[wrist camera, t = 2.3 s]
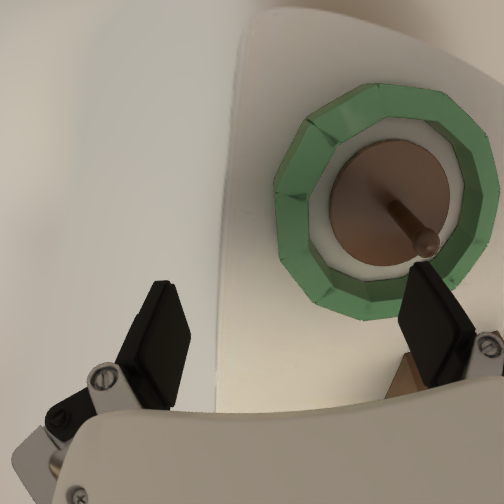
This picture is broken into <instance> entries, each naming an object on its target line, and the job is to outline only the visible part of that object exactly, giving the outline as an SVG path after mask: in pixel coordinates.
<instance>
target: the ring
mask: <svg viewBox="0 0 504 504" xmlns="http://www.w3.org/2000/svg"><path fill="white" fill-rule="evenodd" d="M386 117H398V118H410V119H420V120H424V121H425V122H427V123H428V124H429V125H430V126H432V127H433V128H434V129H435V130H436V131H438V132H439V133H440V134H441V135H442V136H443V137H445V138H446V139H447V140H448V141H449V142H450V143H451V144H452V145H453V148H454V151H455V153H456V156H457V159H458V162H459V165H460V169H461V172H462V175H463V178H464V182H465V189H464V195H463V202H462V207H461V213H460V218H459V223H458V226H457V228H456V229H455V231H454V232H453V234H452V235H451V237H450V238H449V240H448V241H447V242H446V244H445V245H444V247H443V248H442V250H441V251H440V252H439V254H438V255H437V256H436V258H434V259H433V260H431V261H430V262H429V263H430V264H431V265H432V266H433V268H434V269H435V270H436V272H437V273H438V274H439V276H440V277H441V278H442V280H443V281H444V282H445V284H446V285H447V287H448V288H449V289H450V291H452V290H454V289H455V288H456V286H458V285H459V284H460V282H461V281H462V280H463V279H464V277H465V276H466V275H467V273H468V272H469V271H470V269H471V268H472V267H473V265H474V264H475V263H476V261H477V260H478V258H479V257H480V256H481V254H482V253H483V251H484V250H485V248H486V247H487V244H488V243H489V240H490V237H491V233H492V229H493V225H494V221H495V216H496V212H497V207H498V202H499V197H500V191H499V190H500V185H499V180H498V175H497V171H496V166H495V162H494V158H493V154H492V151H491V147H490V143H489V140H488V137H487V136H486V133H485V132H484V131H483V130H482V129H481V128H480V127H479V126H478V125H477V124H476V123H475V122H474V121H473V119H472V118H471V117H470V116H469V115H468V114H467V113H466V112H465V111H464V110H463V109H461V108H460V107H459V106H458V105H457V104H456V103H455V102H454V101H453V100H452V99H451V98H450V97H449V96H448V95H446V94H445V93H443V92H440V91H435V90H429V89H423V88H416V87H409V86H401V85H391V84H381V83H377V84H365V85H361V86H359V87H357V88H355V89H354V90H352V91H350V92H348V93H346V94H345V95H343V96H341V97H339V98H338V99H336V100H334V101H332V102H331V103H329V104H327V105H326V106H324V107H322V108H321V109H319V110H317V111H316V112H314V113H312V114H311V115H309V116H307V120H308V121H307V120H305V119H304V121H303V123H302V125H301V126H300V128H299V130H298V132H297V134H296V136H295V138H294V140H293V142H292V144H291V146H290V148H289V150H288V152H287V154H286V156H285V158H284V160H283V162H282V164H281V166H280V168H279V170H278V172H277V174H276V176H275V178H274V197H275V209H276V222H277V235H278V249H279V258H280V261H281V263H282V264H283V265H284V266H285V268H286V269H287V270H288V272H289V273H290V274H291V275H292V277H293V278H294V279H295V281H296V282H297V283H298V284H299V286H300V287H301V288H302V290H303V291H304V292H305V293H306V295H307V296H308V297H309V299H310V300H311V301H312V302H313V303H315V304H316V305H319V306H321V307H324V308H327V309H330V310H332V311H335V312H338V313H341V314H343V315H346V316H349V317H352V318H355V319H357V320H363V321H368V320H376V319H384V318H392V317H398V314H399V311H400V307H401V303H402V299H403V296H404V292H405V287H406V283H407V279H408V275H409V274H408V275H406V276H405V277H403V278H401V279H391V280H381V281H370V282H361V281H359V280H357V279H354V278H352V277H350V276H347V275H345V274H343V273H340V272H338V271H336V270H333V269H331V268H329V267H328V266H327V265H326V263H325V262H324V260H323V259H322V257H321V256H320V254H319V253H318V251H317V250H316V248H315V247H314V245H313V244H312V242H311V241H310V239H309V211H308V198H309V196H310V194H311V192H312V191H313V189H314V187H315V185H316V184H317V182H318V180H319V178H320V176H321V174H322V173H323V171H324V169H325V167H326V165H327V164H328V162H329V160H330V158H331V156H332V154H333V153H334V151H335V149H336V147H337V146H338V145H339V144H341V143H343V142H344V141H346V140H348V139H350V138H351V137H353V136H355V135H356V134H358V133H360V132H361V131H363V130H365V129H367V128H368V127H370V126H372V125H373V124H375V123H377V122H379V121H380V120H382V119H384V118H386Z"/></svg>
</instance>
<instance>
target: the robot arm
mask: <svg viewBox="0 0 504 504" xmlns="http://www.w3.org/2000/svg"><path fill="white" fill-rule="evenodd" d="M398 323H399V326H400V328H401V330H402V333H403V335H404V337H405V340H406V342H407V344H408V347H409V349H410V351H411V354H412V356H413V359H414V361H415V364H416V366H417V369H418V371H419V374H420V376H421V379H422V382H423V384H424V386H426V387H428V389H427V390H423V391H419V392H415V393H411V394H407V395H402V396H398V397H393V398H388V399H383V400H378V401H372V402H367V403H361V404H354V405H348V406H340V407H333V408H324V409H315V410H304V411H291V412H273V413H202V412H201V413H200V412H181V411H170V407H174V405H175V402H176V398H177V393H178V389H179V385H180V381H181V376H182V373H183V368H184V364H185V360H186V356H187V352H188V348H189V344H190V340H191V333H190V329H189V326H188V324H187V321H186V318H185V315H184V312H183V309H182V306H181V303H180V300H179V296H178V293H177V290H176V287H175V285H174V284H171V283H170V281H168V280H164V281H155V282H154V283H153V285H152V287H151V289H150V291H149V293H148V295H147V297H146V299H145V301H144V303H143V305H142V308H141V309H140V312H139V314H137V315H136V317H135V319H134V321H133V323H132V325H131V327H130V329H129V332H128V334H127V336H126V338H125V340H124V343H123V345H122V347H121V350H120V352H119V354H118V356H117V358H116V361H115V363H111V362H106V363H102V364H99V365H97V366H96V367H94V368H93V369H92V370H91V372H90V373H89V375H88V378H87V387H86V388H84V389H83V390H81V391H79V392H77V393H76V394H74V395H72V396H70V397H68V398H66V399H65V400H63V401H61V402H59V403H57V404H56V405H54V406H53V407H51V408H50V410H49V411H48V412H47V414H46V416H45V426H44V427H42V426H41V425H40V426H39V427H38V428H37V429H36V430H35V431H34V432H33V433H32V434H31V435H30V436H29V437H28V438H27V439H26V440H25V441H24V442H23V443H21V445H20V446H18V447H17V448H16V449H15V451H14V452H13V454H12V458H11V460H12V466H13V468H14V470H15V472H16V473H17V475H18V477H19V478H20V480H21V481H22V483H23V485H24V486H25V488H26V489H27V491H28V492H29V494H30V495H31V497H32V498H33V500H34V501H35V503H36V504H504V344H503V342H502V341H501V339H500V338H499V337H498V336H496V335H495V334H493V333H489V332H482V333H479V334H478V335H477V334H476V332H475V330H476V329H475V327H474V325H473V324H472V322H471V321H470V319H469V318H468V316H467V314H466V313H465V311H464V310H463V308H462V307H461V305H460V304H459V302H458V301H457V299H456V298H455V297H454V295H453V294H452V292H451V291H450V289H449V288H448V287H447V285H446V284H445V282H444V281H443V280H442V278H441V277H440V276H439V274H438V273H437V272H436V270H435V269H434V268H433V266H432V265H431V264H430V263H429V262H428V261H422V262H415V263H414V265H413V266H411V267H410V270H409V275H408V279H407V283H406V287H405V292H404V296H403V299H402V303H401V307H400V311H399V314H398Z"/></svg>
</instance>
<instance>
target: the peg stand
mask: <svg viewBox="0 0 504 504" xmlns="http://www.w3.org/2000/svg"><path fill="white" fill-rule="evenodd" d="M449 201H450V192H449V184H448V181H447V177H446V175H445V172H444V170H443V168H442V166H441V165H440V163H439V162H438V160H437V159H436V158H435V157H434V156H433V155H432V154H431V153H430V152H429V151H427V150H426V149H424V148H423V147H421V146H419V145H417V144H414V143H412V142H409V141H405V140H384V141H380V142H377V143H374V144H371V145H369V146H367V147H365V148H363V149H362V150H360V151H359V152H358V153H356V154H355V155H354V156H353V157H352V158H351V159H350V160H349V161H348V162H347V163H346V164H345V165H344V167H343V168H342V170H341V171H340V173H339V174H338V176H337V178H336V180H335V183H334V185H333V188H332V191H331V196H330V204H329V214H330V221H331V226H332V228H333V231H334V234H335V236H336V238H337V240H338V242H339V243H340V245H341V246H342V247H343V249H344V250H345V251H346V252H347V253H348V254H350V255H351V256H352V257H354V258H355V259H357V260H359V261H361V262H363V263H366V264H370V265H374V266H391V265H397V264H400V263H403V262H406V261H408V260H410V259H412V258H414V257H416V256H417V255H419V256H420V257H423V258H429V257H432V256H433V255H435V254H436V252H437V251H438V249H439V245H440V240H439V237H438V234H439V232H440V231H441V229H442V227H443V225H444V223H445V220H446V217H447V214H448V209H449Z"/></svg>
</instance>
